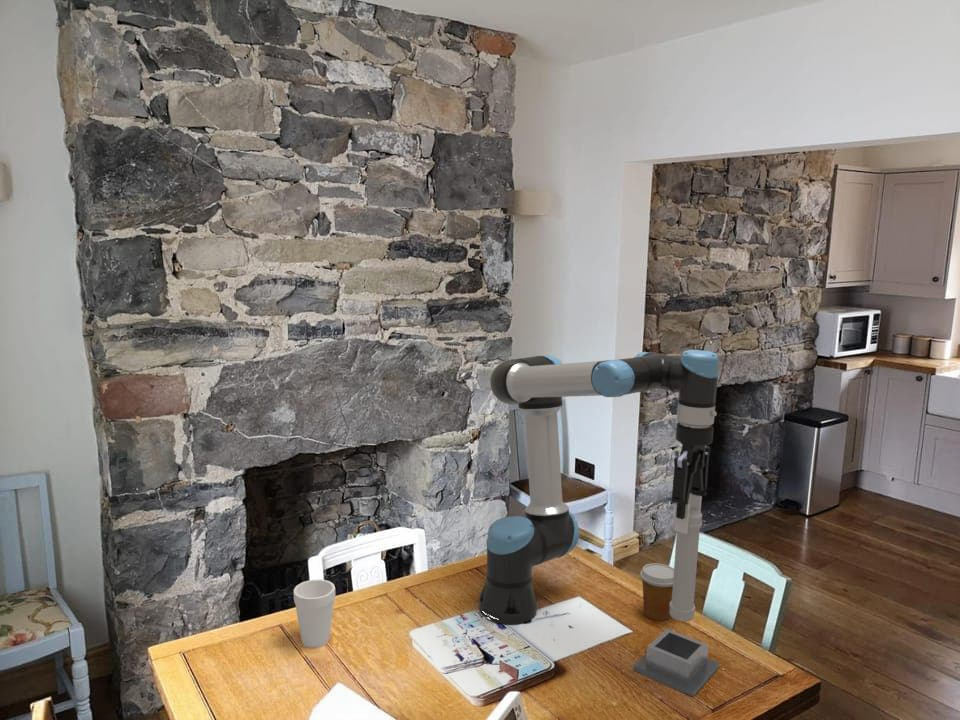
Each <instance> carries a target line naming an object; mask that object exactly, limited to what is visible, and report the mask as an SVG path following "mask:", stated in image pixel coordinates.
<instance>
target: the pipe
mask: <svg viewBox="0 0 960 720" xmlns="http://www.w3.org/2000/svg"><path fill="white" fill-rule="evenodd" d="M688 504H689V501H688ZM702 526H703V514H702V512H699V511H697V510H694V509H690V510H689V523H688V533H687V534H685V533H681V532H678V531H676V538H675V539H676V540H675V551H674V553H675V554H674V563H673V564H674V566H673V568H674V577H673V590H672V601H670V604H669V606H670V615H669V616H670V617H671V618H672V619H674V620H676V621H678V622H691V621H693V620H694V617H695V611H696V606H695V595H696V579H697V566H698V554H699V543H700V542H699V540H700V532H701V531H700V529H701V528H702Z"/></svg>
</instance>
